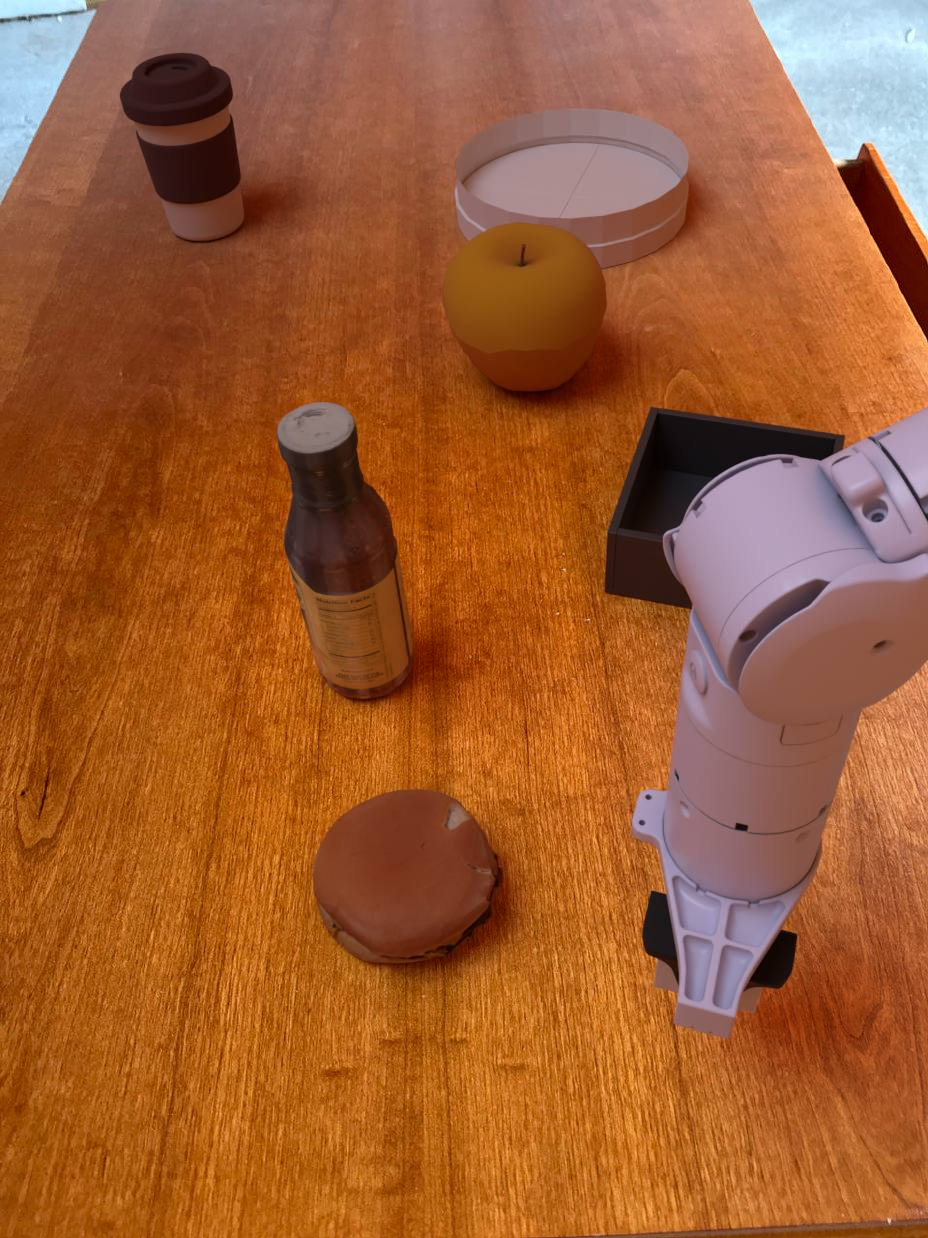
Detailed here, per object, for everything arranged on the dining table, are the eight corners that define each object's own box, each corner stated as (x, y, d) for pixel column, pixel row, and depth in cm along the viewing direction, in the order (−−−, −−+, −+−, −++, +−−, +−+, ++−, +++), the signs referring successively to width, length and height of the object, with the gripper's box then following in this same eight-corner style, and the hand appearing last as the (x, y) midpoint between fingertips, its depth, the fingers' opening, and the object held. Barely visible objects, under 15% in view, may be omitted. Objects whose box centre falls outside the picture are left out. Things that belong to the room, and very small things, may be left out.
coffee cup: (185, 261, 107) (143, 101, 96) (141, 222, 113) (96, 66, 102) (277, 225, 111) (246, 67, 100) (229, 189, 117) (194, 35, 106)
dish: (423, 254, 106) (418, 204, 102) (495, 146, 119) (493, 98, 116) (659, 284, 100) (663, 232, 96) (707, 167, 114) (712, 117, 110)
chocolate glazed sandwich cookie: (284, 920, 61) (269, 876, 57) (384, 793, 66) (375, 745, 62) (439, 1013, 57) (433, 971, 53) (533, 870, 62) (532, 824, 59)
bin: (830, 496, 81) (845, 434, 76) (808, 631, 72) (823, 570, 68) (646, 466, 84) (650, 406, 80) (604, 592, 76) (607, 532, 72)
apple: (506, 441, 87) (501, 310, 78) (416, 362, 94) (403, 235, 86) (638, 378, 91) (647, 248, 83) (542, 307, 99) (541, 181, 90)
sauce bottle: (344, 621, 75) (293, 370, 60) (431, 644, 73) (400, 391, 59) (299, 695, 71) (232, 446, 56) (390, 721, 69) (346, 470, 55)
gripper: (679, 597, 45) (657, 788, 56) (593, 918, 36) (586, 1077, 46) (862, 631, 44) (806, 822, 54) (820, 977, 35) (762, 1129, 45)
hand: (714, 943), depth 50 cm, fingers closed on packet, 4 cm apart
